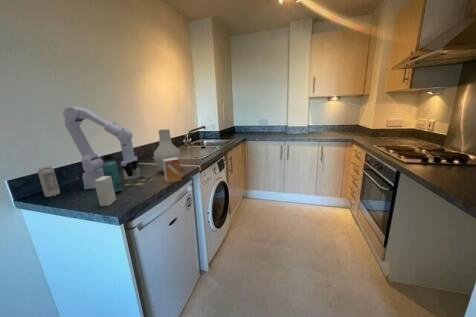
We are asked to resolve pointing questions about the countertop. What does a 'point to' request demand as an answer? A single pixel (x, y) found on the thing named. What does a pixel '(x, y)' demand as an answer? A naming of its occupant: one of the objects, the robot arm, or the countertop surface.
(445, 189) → the countertop surface
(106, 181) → the skincare box
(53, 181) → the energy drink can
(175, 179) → the small box
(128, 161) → the robot arm
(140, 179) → the channel board
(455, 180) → the countertop surface
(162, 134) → the vase
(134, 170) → the lock block
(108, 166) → the beverage bottle
